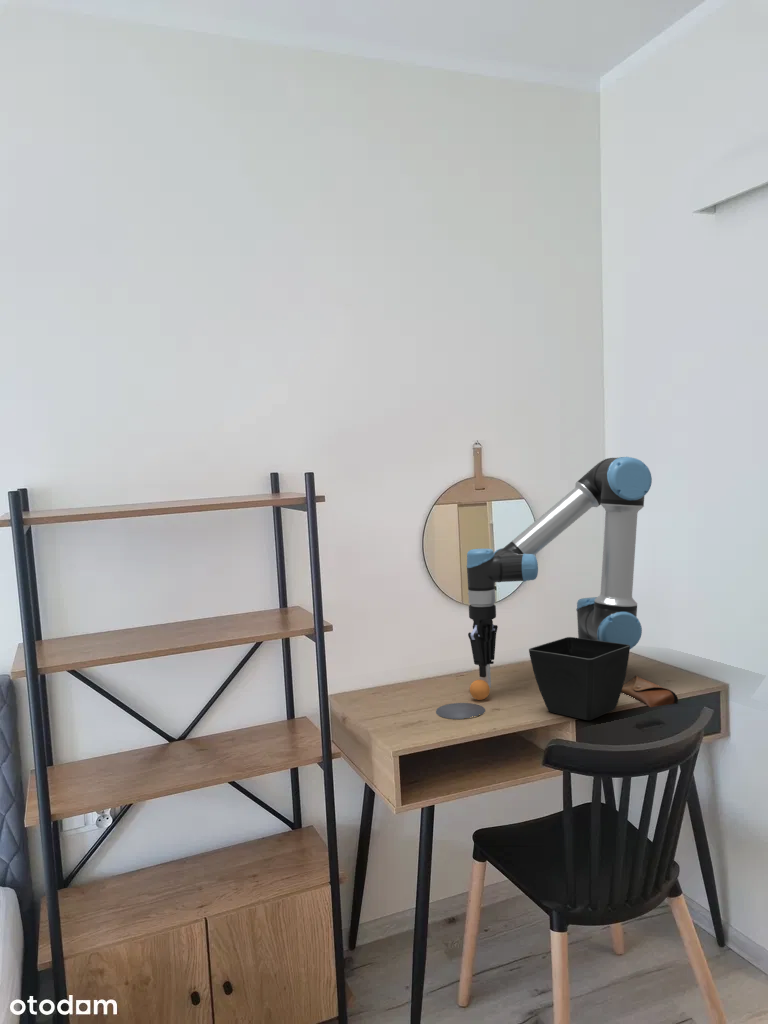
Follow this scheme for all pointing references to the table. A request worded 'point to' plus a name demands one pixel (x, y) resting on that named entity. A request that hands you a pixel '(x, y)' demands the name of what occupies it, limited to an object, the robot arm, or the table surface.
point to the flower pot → (580, 675)
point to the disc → (460, 710)
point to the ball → (479, 689)
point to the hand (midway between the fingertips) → (485, 687)
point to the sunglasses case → (649, 692)
